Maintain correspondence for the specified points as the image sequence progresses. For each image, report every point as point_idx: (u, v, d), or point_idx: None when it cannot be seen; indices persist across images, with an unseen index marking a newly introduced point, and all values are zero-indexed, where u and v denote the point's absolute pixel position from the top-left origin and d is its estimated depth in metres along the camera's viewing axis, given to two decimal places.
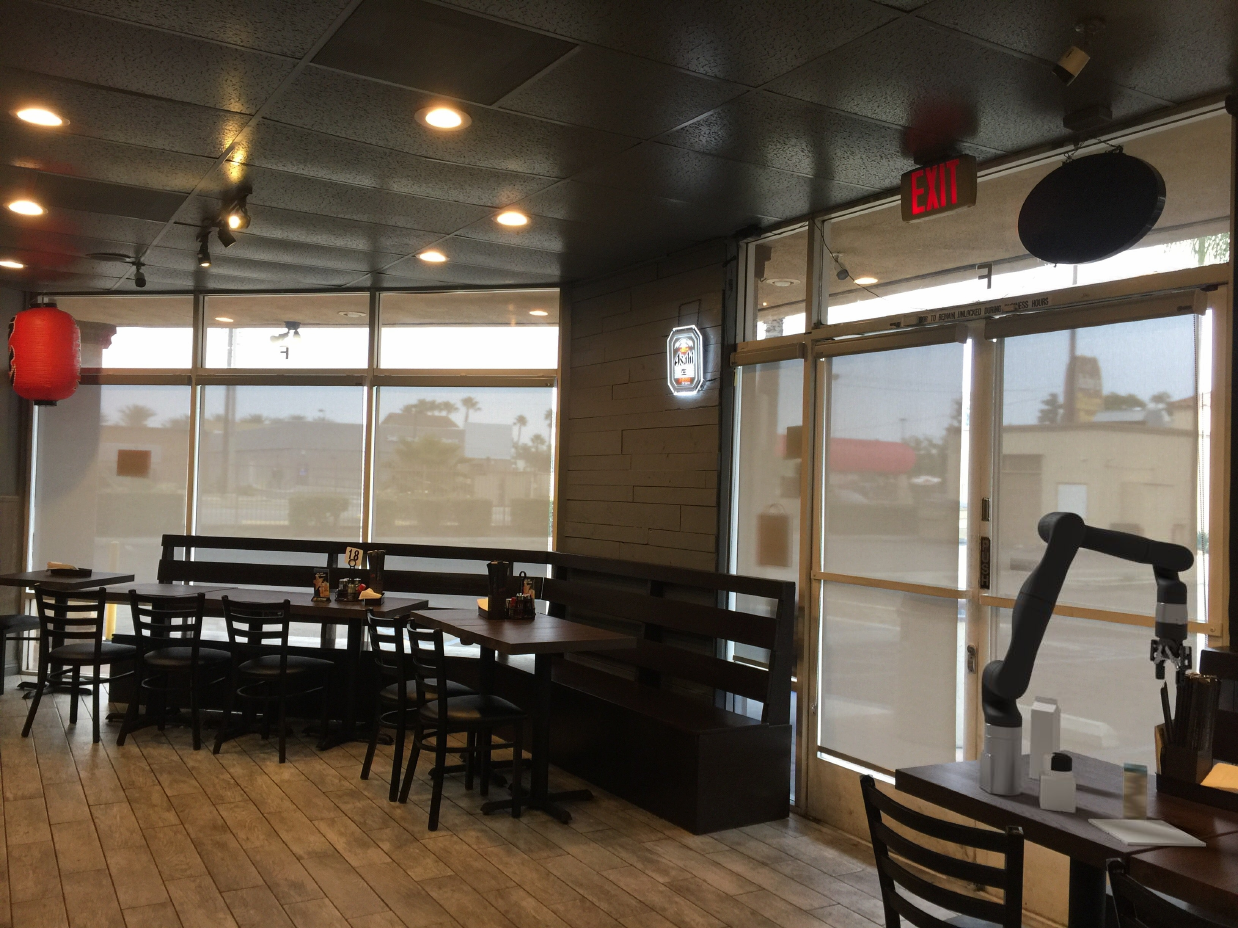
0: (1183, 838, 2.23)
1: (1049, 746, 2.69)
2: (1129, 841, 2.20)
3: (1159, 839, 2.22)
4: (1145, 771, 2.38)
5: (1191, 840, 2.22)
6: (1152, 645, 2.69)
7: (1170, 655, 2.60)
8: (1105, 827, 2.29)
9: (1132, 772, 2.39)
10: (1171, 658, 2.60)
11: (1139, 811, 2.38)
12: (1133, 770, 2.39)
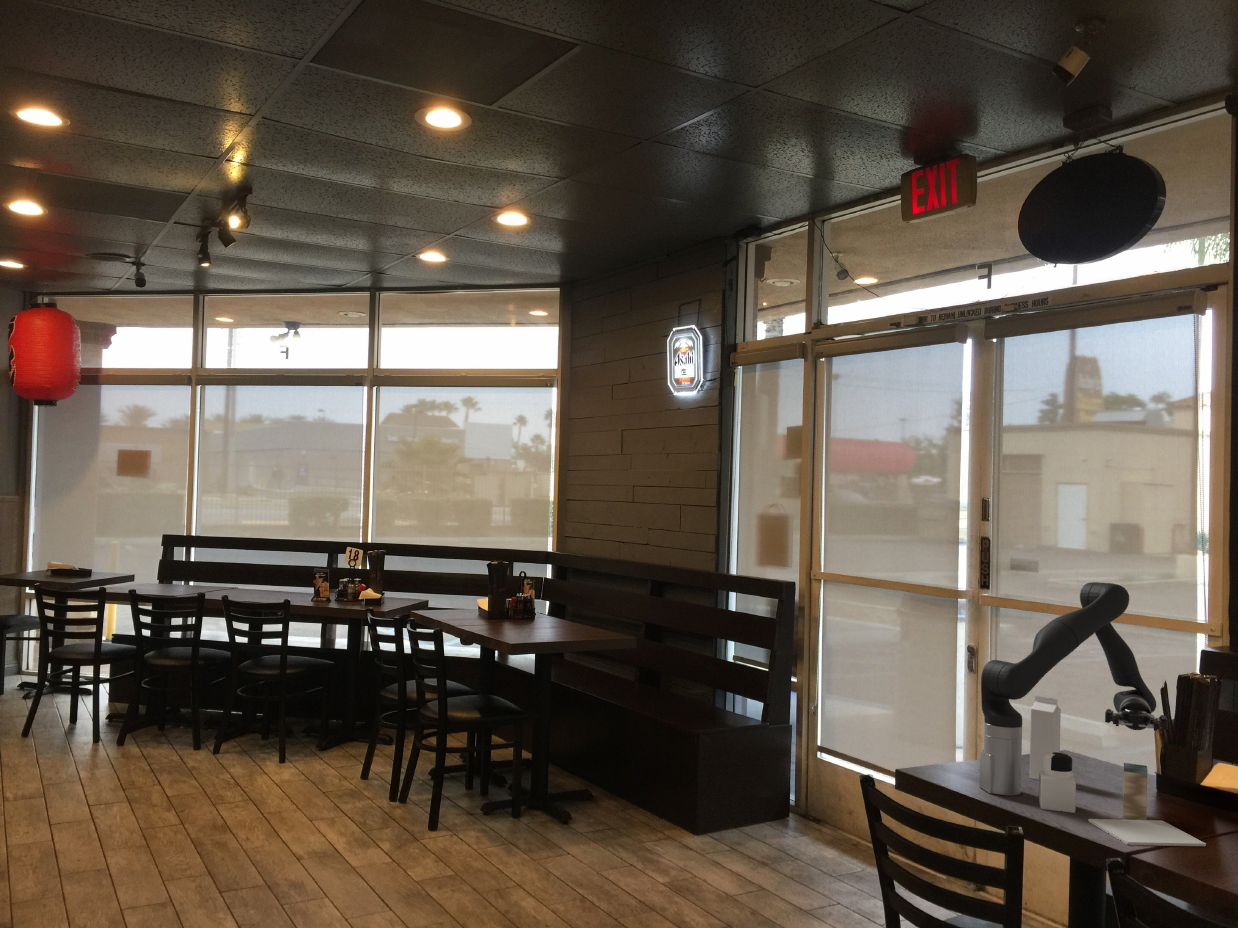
0: (1183, 838, 2.23)
1: (1049, 746, 2.69)
2: (1129, 841, 2.20)
3: (1159, 839, 2.22)
4: (1145, 771, 2.38)
5: (1191, 840, 2.22)
6: (1109, 710, 2.61)
7: (1147, 713, 2.56)
8: (1105, 827, 2.29)
9: (1132, 772, 2.39)
10: (1149, 714, 2.55)
11: (1139, 811, 2.38)
12: (1133, 770, 2.39)
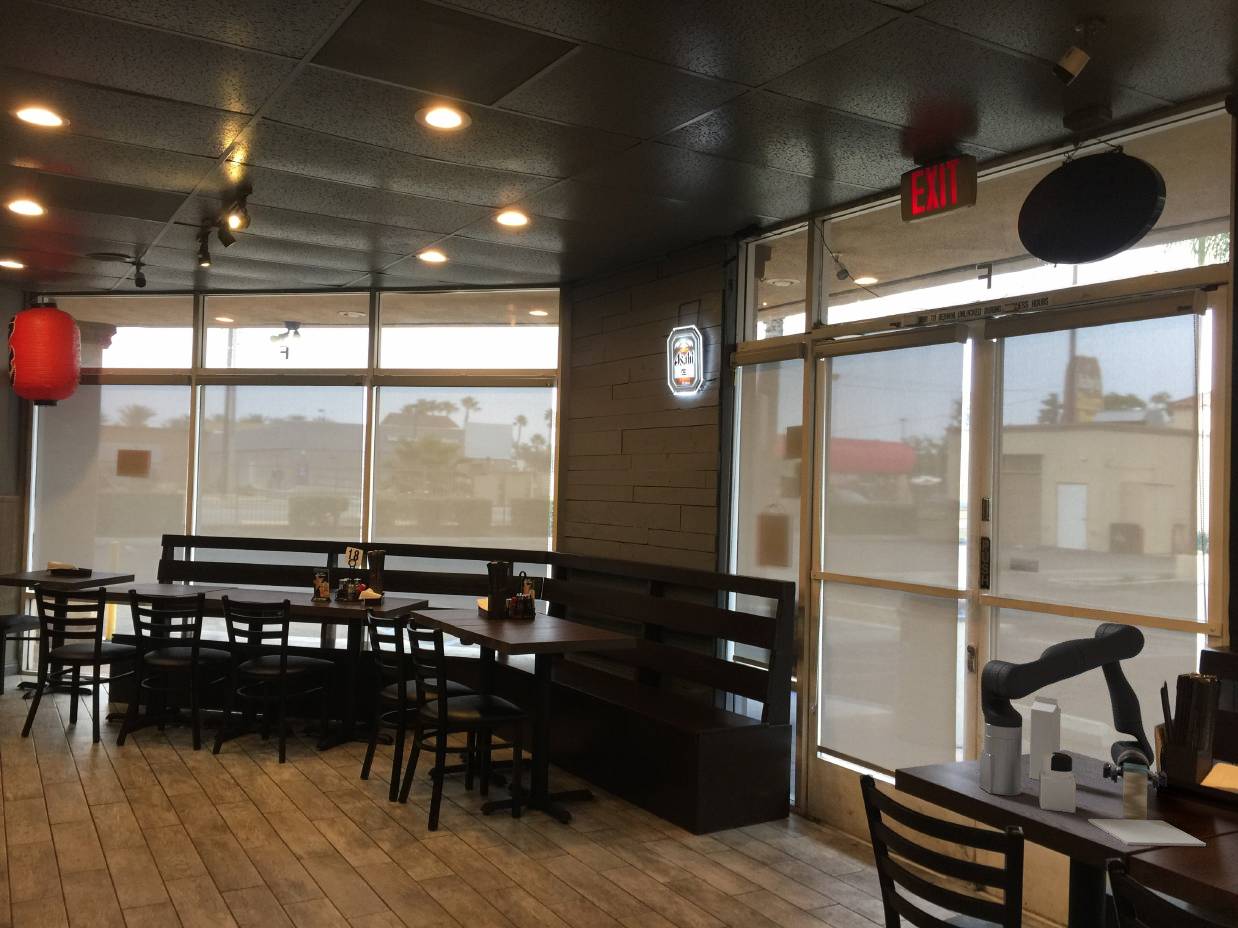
0: (1183, 838, 2.23)
1: (1049, 746, 2.69)
2: (1129, 841, 2.20)
3: (1159, 839, 2.22)
4: (1145, 771, 2.38)
5: (1191, 840, 2.22)
6: (1107, 764, 2.57)
7: None
8: (1105, 827, 2.29)
9: (1132, 772, 2.39)
10: None
11: (1139, 811, 2.38)
12: (1133, 770, 2.39)
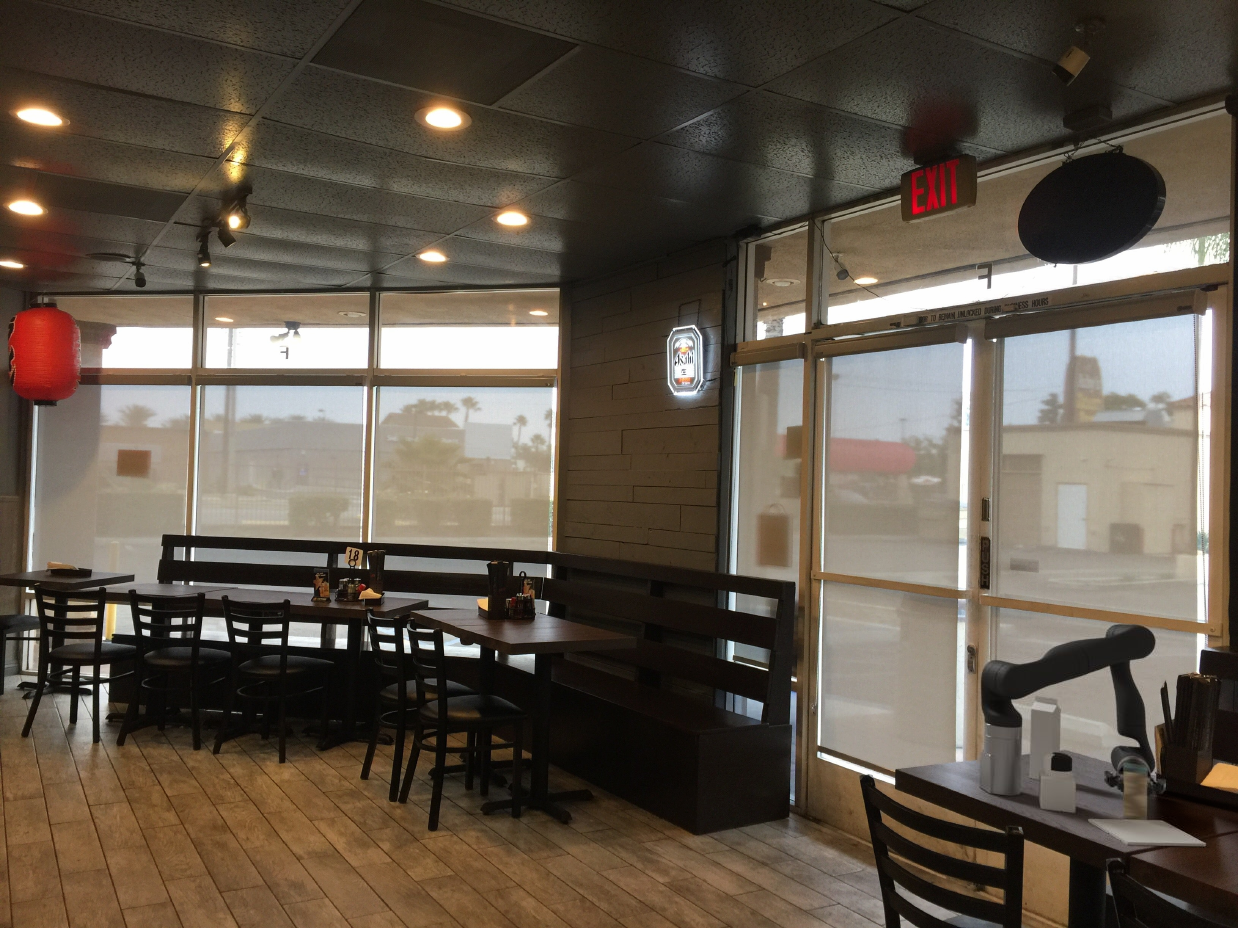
0: (1183, 838, 2.23)
1: (1049, 746, 2.69)
2: (1129, 841, 2.20)
3: (1159, 839, 2.22)
4: (1145, 771, 2.38)
5: (1191, 840, 2.22)
6: (1109, 772, 2.49)
7: None
8: (1105, 827, 2.29)
9: (1132, 772, 2.39)
10: None
11: (1139, 811, 2.38)
12: (1133, 770, 2.39)
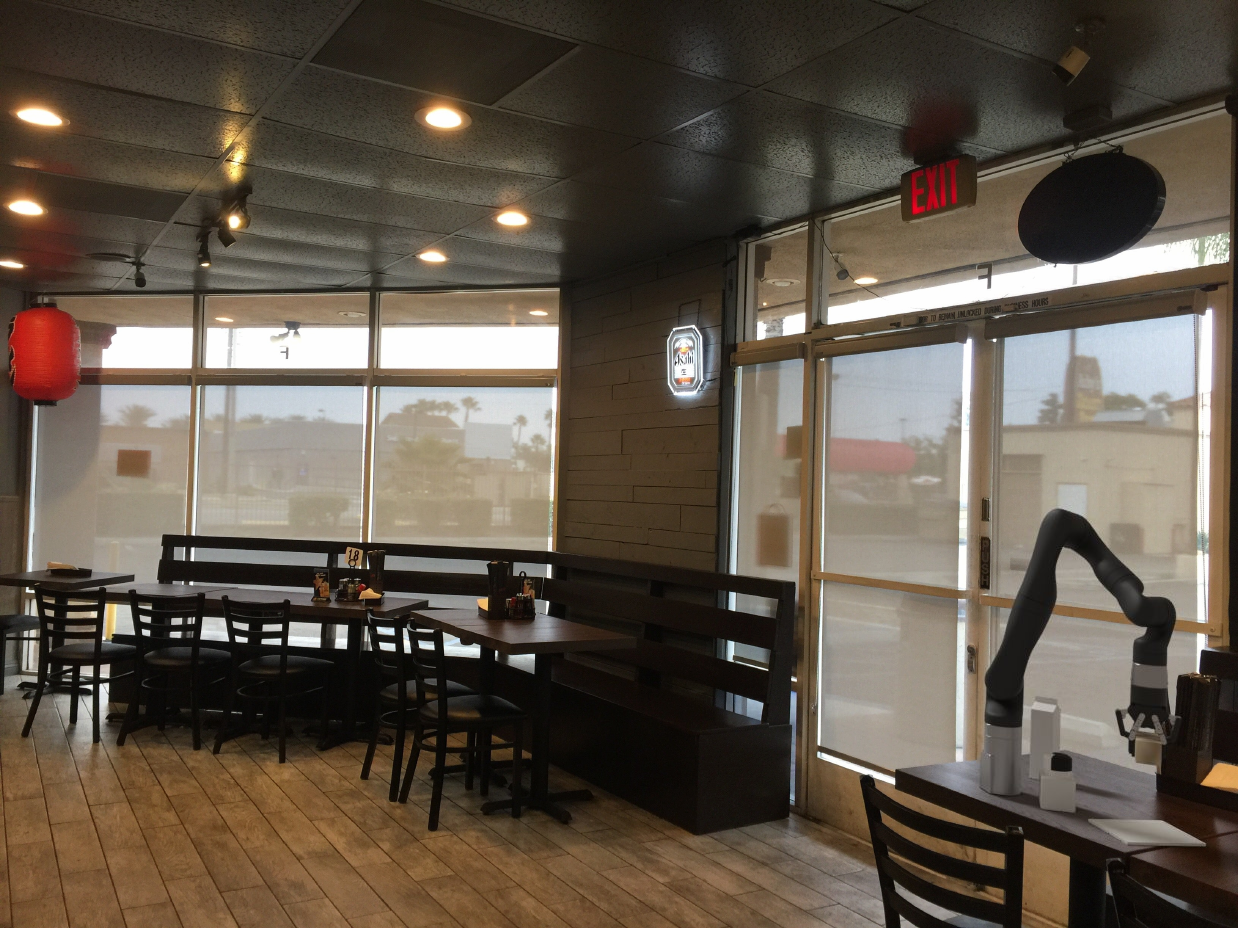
0: (1183, 838, 2.23)
1: (1049, 746, 2.69)
2: (1129, 841, 2.20)
3: (1159, 839, 2.22)
4: None
5: (1191, 840, 2.22)
6: None
7: None
8: (1105, 827, 2.29)
9: None
10: None
11: None
12: None
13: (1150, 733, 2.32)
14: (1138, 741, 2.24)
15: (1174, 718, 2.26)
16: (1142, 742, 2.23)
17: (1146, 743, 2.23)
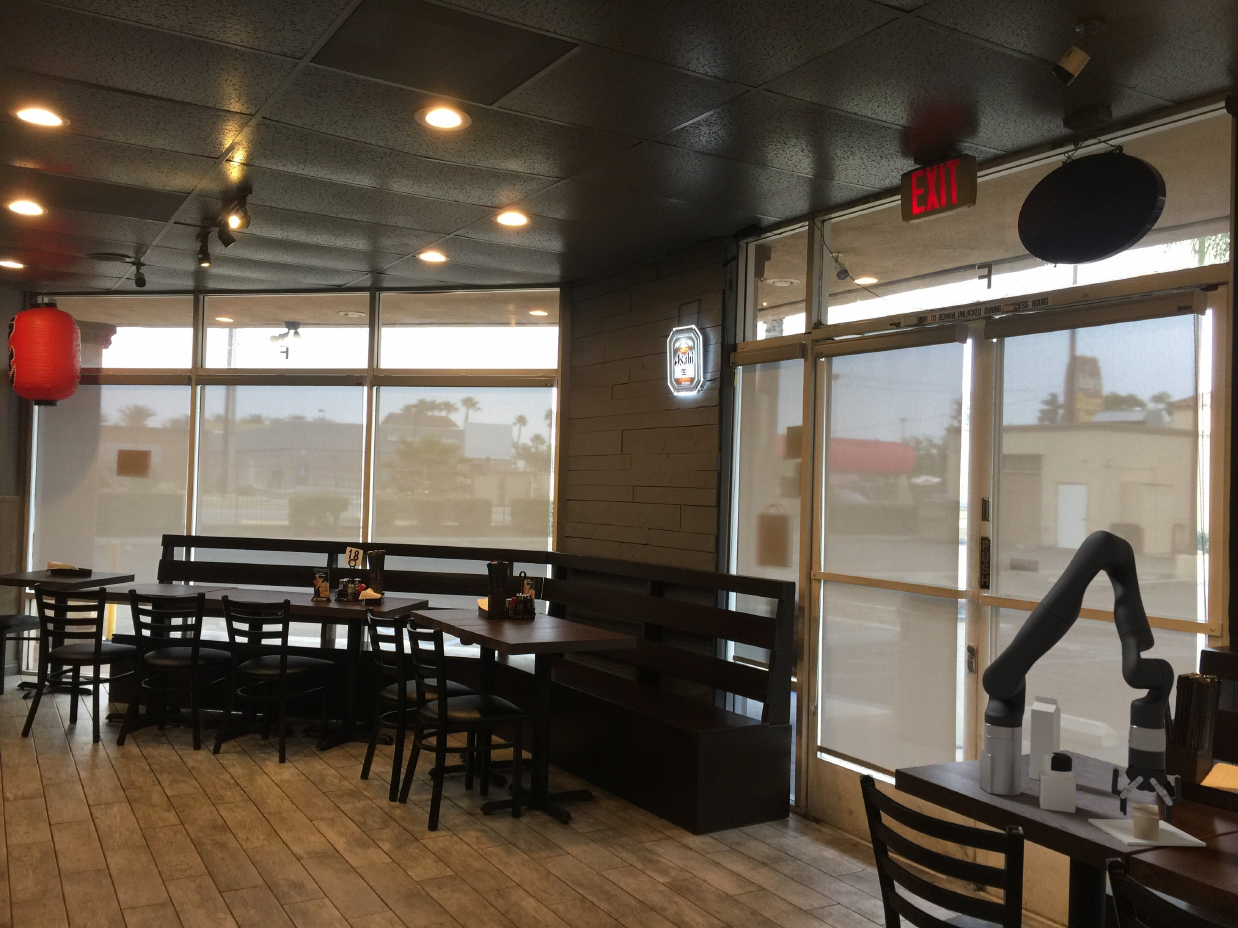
0: (1183, 838, 2.23)
1: (1049, 746, 2.69)
2: (1129, 841, 2.20)
3: (1159, 839, 2.22)
4: None
5: (1191, 840, 2.22)
6: None
7: None
8: (1105, 827, 2.29)
9: None
10: None
11: None
12: None
13: (1149, 805, 2.31)
14: (1135, 815, 2.23)
15: (1173, 778, 2.26)
16: (1139, 817, 2.22)
17: (1143, 818, 2.22)
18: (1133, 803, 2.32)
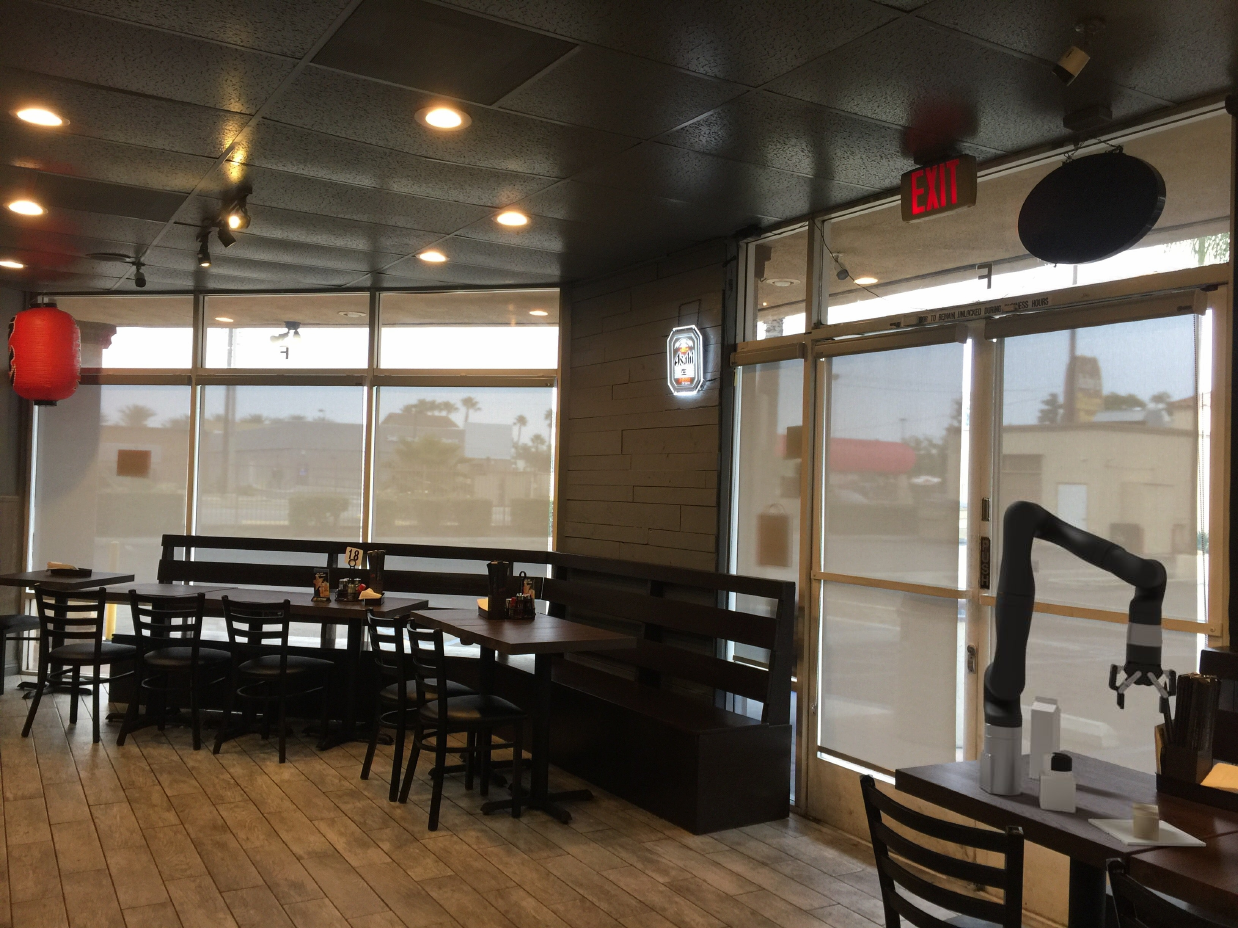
0: (1183, 838, 2.23)
1: (1049, 746, 2.69)
2: (1129, 841, 2.20)
3: (1159, 839, 2.22)
4: None
5: (1191, 840, 2.22)
6: None
7: None
8: (1105, 827, 2.29)
9: None
10: None
11: None
12: None
13: (1149, 805, 2.31)
14: (1135, 815, 2.23)
15: (1168, 672, 2.36)
16: (1139, 817, 2.22)
17: (1143, 818, 2.22)
18: (1133, 803, 2.32)
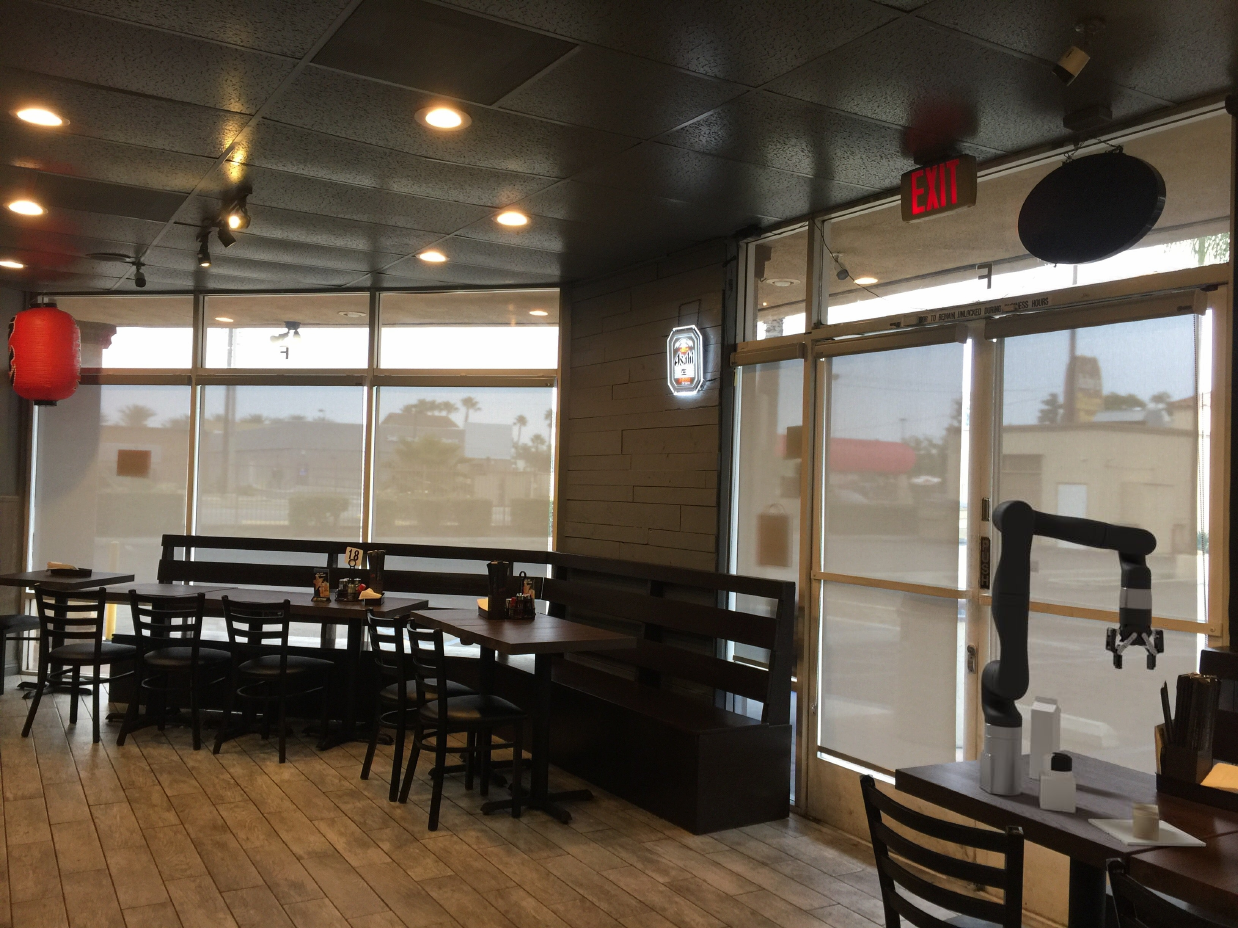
0: (1183, 838, 2.23)
1: (1049, 746, 2.69)
2: (1129, 841, 2.20)
3: (1159, 839, 2.22)
4: None
5: (1191, 840, 2.22)
6: None
7: None
8: (1105, 827, 2.29)
9: None
10: None
11: None
12: None
13: (1149, 805, 2.31)
14: (1135, 815, 2.23)
15: (1156, 632, 2.57)
16: (1139, 817, 2.22)
17: (1143, 818, 2.22)
18: (1133, 803, 2.32)
